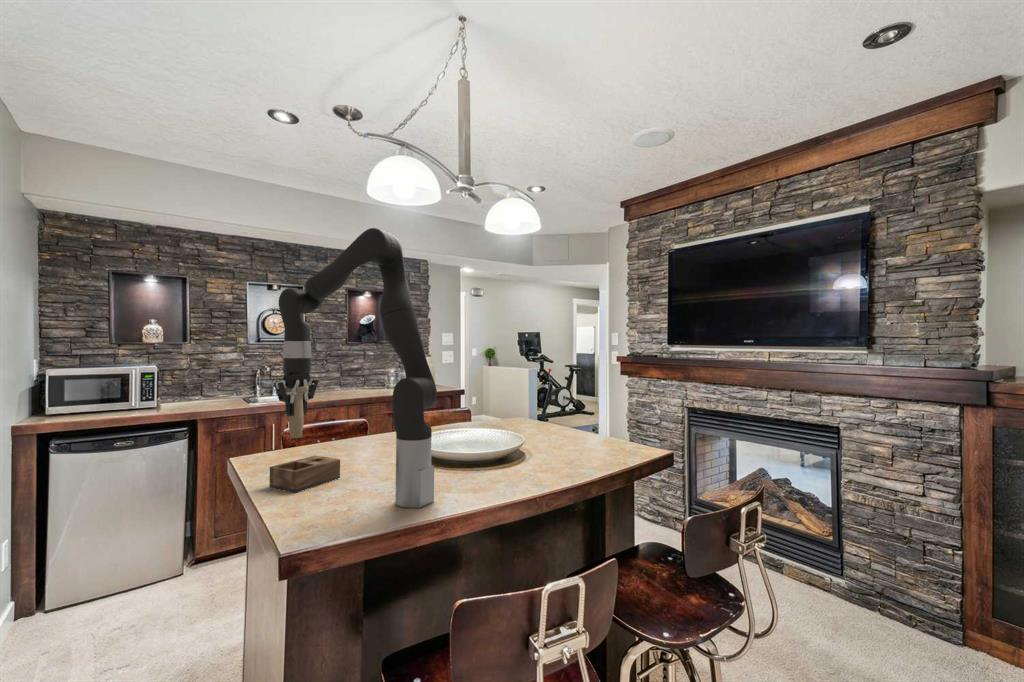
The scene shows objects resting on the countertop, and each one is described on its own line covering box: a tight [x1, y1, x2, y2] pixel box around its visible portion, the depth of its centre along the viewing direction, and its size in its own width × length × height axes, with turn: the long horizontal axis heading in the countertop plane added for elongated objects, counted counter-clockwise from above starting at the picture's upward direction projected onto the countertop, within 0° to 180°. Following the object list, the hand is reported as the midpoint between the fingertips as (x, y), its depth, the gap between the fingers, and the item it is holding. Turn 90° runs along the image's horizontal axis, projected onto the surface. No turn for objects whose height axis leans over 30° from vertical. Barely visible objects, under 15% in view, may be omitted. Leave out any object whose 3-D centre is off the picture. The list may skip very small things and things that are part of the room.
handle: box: [285, 385, 309, 439], centre depth 133 cm, size 5×6×15 cm
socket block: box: [269, 455, 341, 494], centre depth 136 cm, size 11×16×6 cm
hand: (296, 414), depth 133 cm, fingers closed on handle, 3 cm apart
